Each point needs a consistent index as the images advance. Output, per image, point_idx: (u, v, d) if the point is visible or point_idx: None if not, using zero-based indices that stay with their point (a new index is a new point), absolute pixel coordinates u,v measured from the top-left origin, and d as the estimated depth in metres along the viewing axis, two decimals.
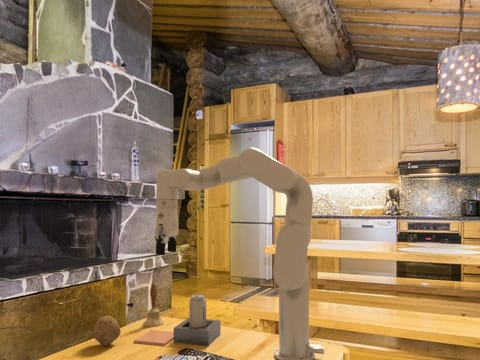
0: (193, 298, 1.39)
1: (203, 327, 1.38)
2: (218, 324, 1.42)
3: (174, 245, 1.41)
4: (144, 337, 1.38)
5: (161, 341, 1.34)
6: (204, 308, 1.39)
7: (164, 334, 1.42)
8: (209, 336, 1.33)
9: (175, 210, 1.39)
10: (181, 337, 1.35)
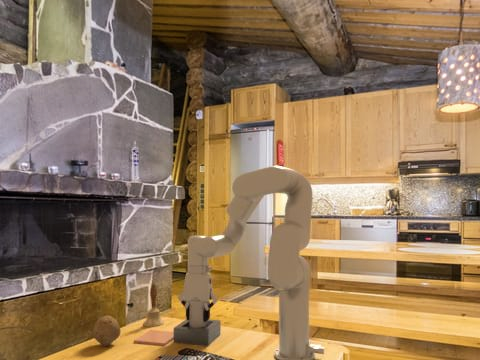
0: (193, 298, 1.39)
1: (203, 327, 1.38)
2: (218, 324, 1.42)
3: None
4: (144, 337, 1.38)
5: (161, 341, 1.34)
6: (204, 308, 1.39)
7: (164, 334, 1.42)
8: (209, 336, 1.33)
9: None
10: (181, 337, 1.35)
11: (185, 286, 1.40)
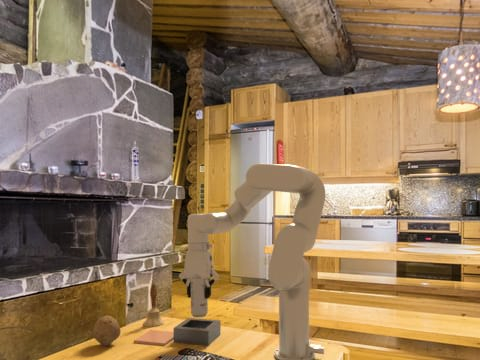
0: (194, 275, 1.39)
1: (204, 304, 1.38)
2: (218, 324, 1.42)
3: None
4: (144, 337, 1.38)
5: (161, 341, 1.34)
6: (205, 285, 1.39)
7: (164, 334, 1.42)
8: (209, 336, 1.33)
9: None
10: (181, 337, 1.35)
11: (186, 264, 1.41)
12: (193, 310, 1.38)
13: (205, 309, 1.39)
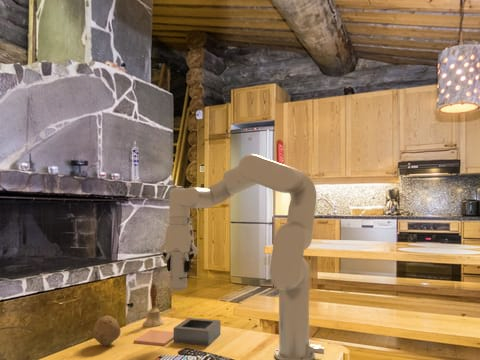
0: (174, 249, 1.40)
1: (184, 277, 1.39)
2: (218, 324, 1.42)
3: None
4: (144, 337, 1.38)
5: (161, 341, 1.34)
6: (185, 259, 1.40)
7: (164, 334, 1.42)
8: (209, 336, 1.33)
9: None
10: (181, 337, 1.35)
11: (166, 237, 1.41)
12: (172, 283, 1.39)
13: (184, 282, 1.40)
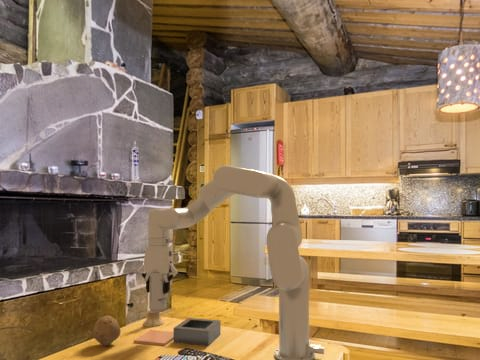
0: (153, 270, 1.40)
1: (162, 299, 1.39)
2: (218, 324, 1.42)
3: None
4: (144, 337, 1.38)
5: (161, 341, 1.34)
6: (164, 280, 1.40)
7: (164, 334, 1.42)
8: (209, 336, 1.33)
9: None
10: (181, 337, 1.35)
11: (145, 258, 1.41)
12: (151, 305, 1.38)
13: (163, 304, 1.39)
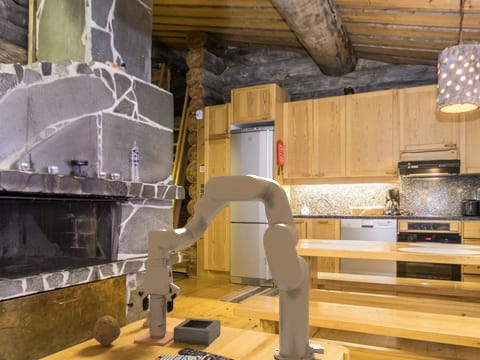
0: (152, 296, 1.39)
1: (163, 325, 1.38)
2: (218, 324, 1.42)
3: (148, 302, 1.43)
4: (144, 337, 1.38)
5: (161, 341, 1.34)
6: (164, 306, 1.39)
7: None
8: (209, 336, 1.33)
9: None
10: (181, 337, 1.35)
11: (145, 279, 1.40)
12: (151, 331, 1.37)
13: (163, 330, 1.38)
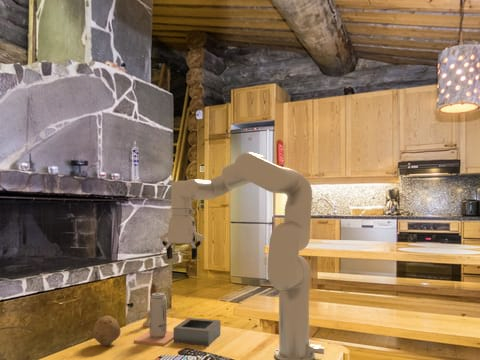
0: (153, 296, 1.39)
1: (163, 325, 1.38)
2: (218, 324, 1.42)
3: (171, 252, 1.48)
4: (144, 337, 1.38)
5: (161, 341, 1.34)
6: (164, 306, 1.39)
7: None
8: (209, 336, 1.33)
9: None
10: (181, 337, 1.35)
11: (169, 229, 1.46)
12: (151, 331, 1.37)
13: (163, 330, 1.38)
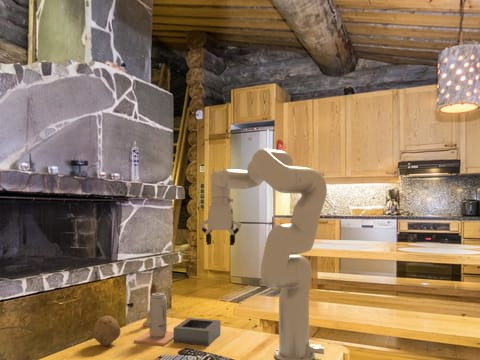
0: (153, 296, 1.39)
1: (163, 325, 1.38)
2: (218, 324, 1.42)
3: (210, 238, 1.57)
4: (144, 337, 1.38)
5: (161, 341, 1.34)
6: (164, 306, 1.39)
7: None
8: (209, 336, 1.33)
9: None
10: (181, 337, 1.35)
11: (209, 216, 1.54)
12: (151, 331, 1.37)
13: (163, 330, 1.38)
